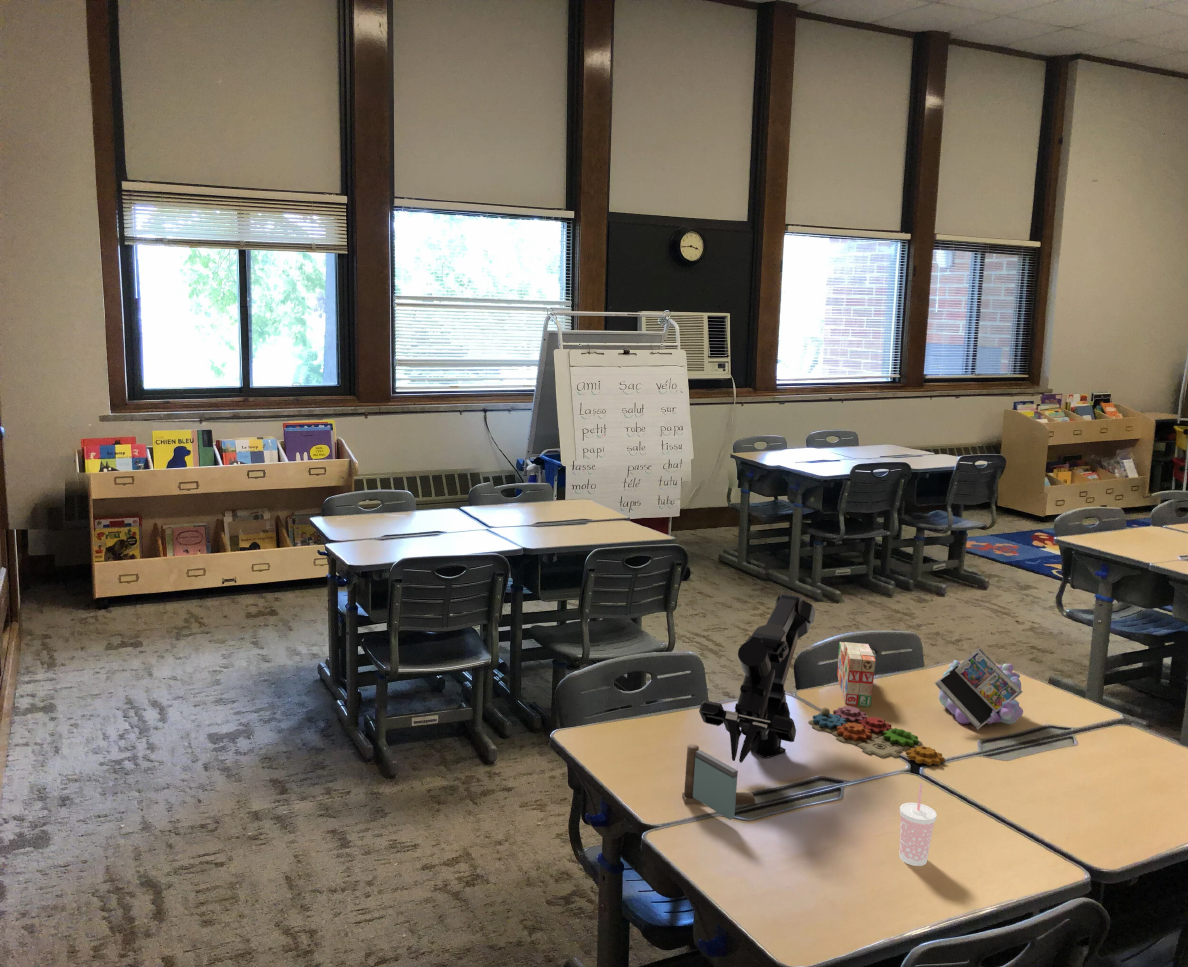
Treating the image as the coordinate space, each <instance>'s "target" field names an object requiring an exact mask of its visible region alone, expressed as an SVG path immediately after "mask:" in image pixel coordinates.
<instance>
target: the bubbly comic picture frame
mask: <svg viewBox="0 0 1188 967" xmlns="http://www.w3.org/2000/svg"><path fill="white" fill-rule="evenodd" d="M1013 670H1014V665H1013V663H1004V664H1003V665H998V664H996V662H995V661H993V660H992V658H991V657H990V656H988V655H987V653H985V651H983V649H982V648H981V647H978V648H977V649H975V650H974V651H973V652H971V653H970V654H969V655H968V656H967V657H966V658H965V659H963V660H962V661H961V662H960V661H959V660H957V659H953V661H952V662H951V663H949V665H948V669H947V670H946V671H944V673H943V674H942V677H940V678H939V679H938V680H935V682H934V684H935V686H936V687H937V688H938V689H939V692H938V701H939V702H940V704H941V705H942V706H943V707H944V708H945V709H947V710H948V711H949V712H950V713H951V714H952V715H954V716H955V720H956V721H957V722H958V723H959V724H964V725H965V724H972V725H973V726H974V728H975V729H976V730H979V729H980V728H982V726H984V725H985V724H988V725H991V724H993V723H1002V724H1006V725H1013V724H1015V723H1017V721H1018V720H1019V719H1020V718H1021V717H1022V715H1024V710H1023V708H1022V707H1021V706H1020V702H1019V701H1018V700H1017V699H1016V698H1018V697H1019V696H1020V695H1022V693H1023V690H1022V681H1021V680H1020V678H1021V675H1020V673H1017V672H1015V671H1013Z"/></svg>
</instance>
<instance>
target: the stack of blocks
mask: <svg viewBox="0 0 1188 967" xmlns="http://www.w3.org/2000/svg"><path fill="white" fill-rule="evenodd" d="M837 652H838V659H837V673H836V675H837V679H838V683H839V687H840V689H841V693H842V698H843V703H844V705H845V706H846V705H847V706H855V707H856V706H858V707H859V706H860V707H869V708H870V707H871V706H872V705H871V704H872V694H873V685H874V680H875V679H874V678H875V668H876V659H875V655H874V653H873V651H872V648H871V646H870V645H869V643H857V642H848V641H847V642H846V641H844V642H843V641H839V644H838V651H837Z"/></svg>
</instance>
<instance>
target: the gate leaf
mask: <svg viewBox="0 0 1188 967" xmlns="http://www.w3.org/2000/svg"><path fill="white" fill-rule="evenodd" d="M738 773H739V770H737V769H736V768H734V767H732V766H731V765H729V764H727V763H725V762H723V761H722V760H719V759H718V758H716V757H714V756H712V755H711V754H709V753H707V752H705V751H703V750H701V749H699V750H698V751H696V755H695V770H694V784H693V798H695V799H697V800H698V801H700V802H701V803H703V804H702V805H705V806H706V807H708V808H710V810H711V809H712V810H713V811H715V812H716V813H718V814H719V815H721V816H723V817H724V818H726V819H728V820H729V821H730V820H733V819H734V818H735V816H736V815H735V814H736V813H735V811H736V804H735V801H736V792H737V786H738Z"/></svg>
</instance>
